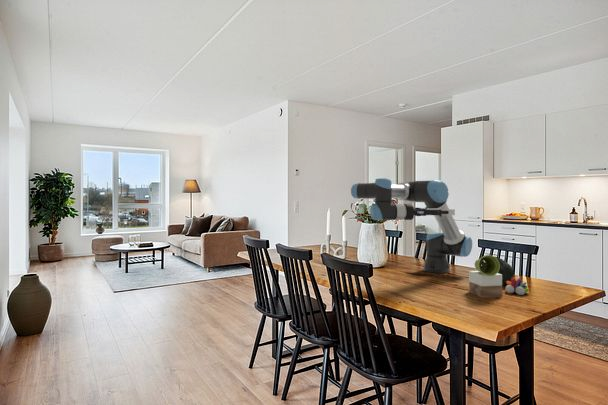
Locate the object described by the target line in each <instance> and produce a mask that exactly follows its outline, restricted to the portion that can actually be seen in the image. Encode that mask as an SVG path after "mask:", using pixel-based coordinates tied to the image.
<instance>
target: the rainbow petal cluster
mask: <svg viewBox="0 0 608 405" xmlns="http://www.w3.org/2000/svg"><path fill="white" fill-rule="evenodd" d="M506 283H507V285H505V291H506V293H507V294H514V293H516V294H517V295H518V296H523V295H525V294H526V293H528V292H529V291H530V289H529V287H528V285H527V281H524V282H523V283H522V278H517V279H516V278H515V277H513V278H511V281H506Z"/></svg>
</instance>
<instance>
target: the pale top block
mask: <svg viewBox="0 0 608 405" xmlns="http://www.w3.org/2000/svg"><path fill="white" fill-rule="evenodd" d="M468 282H471V283H474V284H477V285H480V286H502V287H503V285H502V274H499V273H497V274H496V275H494V276H486V275H484V274H483V273H481V272H480V271H478V270H469V271H468Z"/></svg>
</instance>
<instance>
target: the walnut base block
mask: <svg viewBox="0 0 608 405" xmlns="http://www.w3.org/2000/svg"><path fill="white" fill-rule="evenodd" d="M468 282H469V281H468ZM468 290H469V291H468V292H469V293H471V294H473V295H475V296H477V297H479V298H503V285H502V286H480V285H477V284H474V283H471V282H469V289H468Z"/></svg>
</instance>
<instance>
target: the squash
mask: <svg viewBox="0 0 608 405" xmlns="http://www.w3.org/2000/svg"><path fill="white" fill-rule="evenodd" d="M494 257H495V258H497V260H498V261H499V264H500V269H499V271H498V273H499V274H502V286H507V283H506V281H511V278H514V276H515V273H514V269H513V267H512V266H511V264H510V263H509V262H507V261H505V260H504V259H502V258H501V257H498V256H494ZM485 269H486V268H485Z"/></svg>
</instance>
